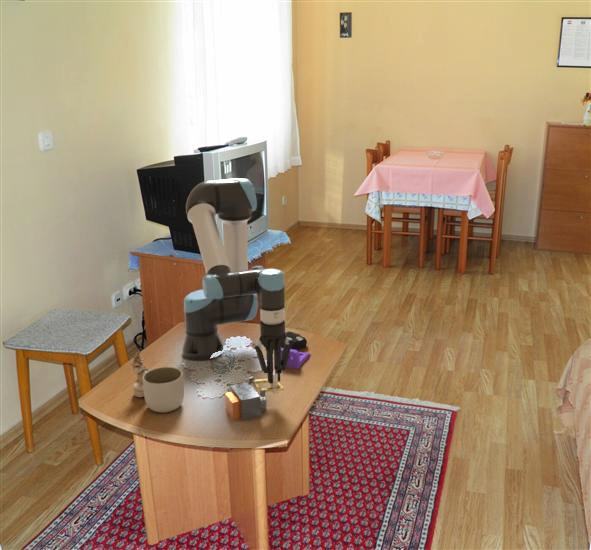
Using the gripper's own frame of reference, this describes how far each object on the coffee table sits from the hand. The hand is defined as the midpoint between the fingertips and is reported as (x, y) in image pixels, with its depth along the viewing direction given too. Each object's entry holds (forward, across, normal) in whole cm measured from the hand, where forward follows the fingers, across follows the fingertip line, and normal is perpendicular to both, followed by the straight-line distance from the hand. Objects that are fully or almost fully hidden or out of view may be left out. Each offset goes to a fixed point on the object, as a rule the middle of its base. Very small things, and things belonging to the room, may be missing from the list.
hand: (274, 391), depth 204 cm
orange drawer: (+5, -8, 0) cm, 9 cm away
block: (+5, -9, 0) cm, 11 cm away
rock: (+4, +20, +42) cm, 47 cm away
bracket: (+5, +19, +27) cm, 33 cm away
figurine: (+5, -36, +25) cm, 44 cm away
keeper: (-3, -6, 0) cm, 6 cm away
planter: (+5, -31, +14) cm, 35 cm away
